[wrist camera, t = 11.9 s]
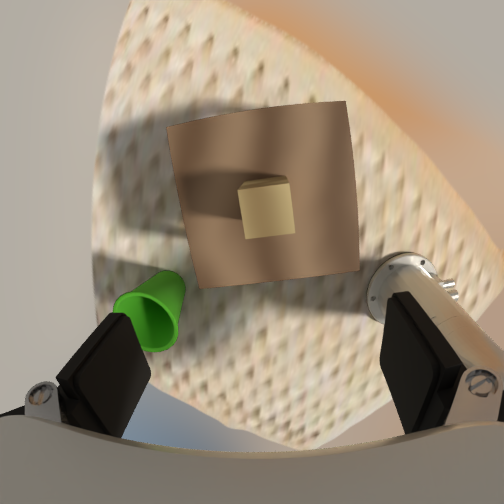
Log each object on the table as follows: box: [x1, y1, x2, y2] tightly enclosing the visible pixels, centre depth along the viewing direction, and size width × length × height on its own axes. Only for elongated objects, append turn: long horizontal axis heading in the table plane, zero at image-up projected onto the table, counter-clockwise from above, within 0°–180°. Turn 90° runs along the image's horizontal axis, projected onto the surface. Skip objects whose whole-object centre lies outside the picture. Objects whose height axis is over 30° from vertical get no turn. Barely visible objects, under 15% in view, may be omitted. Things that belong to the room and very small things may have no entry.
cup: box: [113, 271, 185, 352], centre depth 39 cm, size 9×9×11 cm
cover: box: [166, 101, 360, 289], centre depth 28 cm, size 15×15×19 cm
